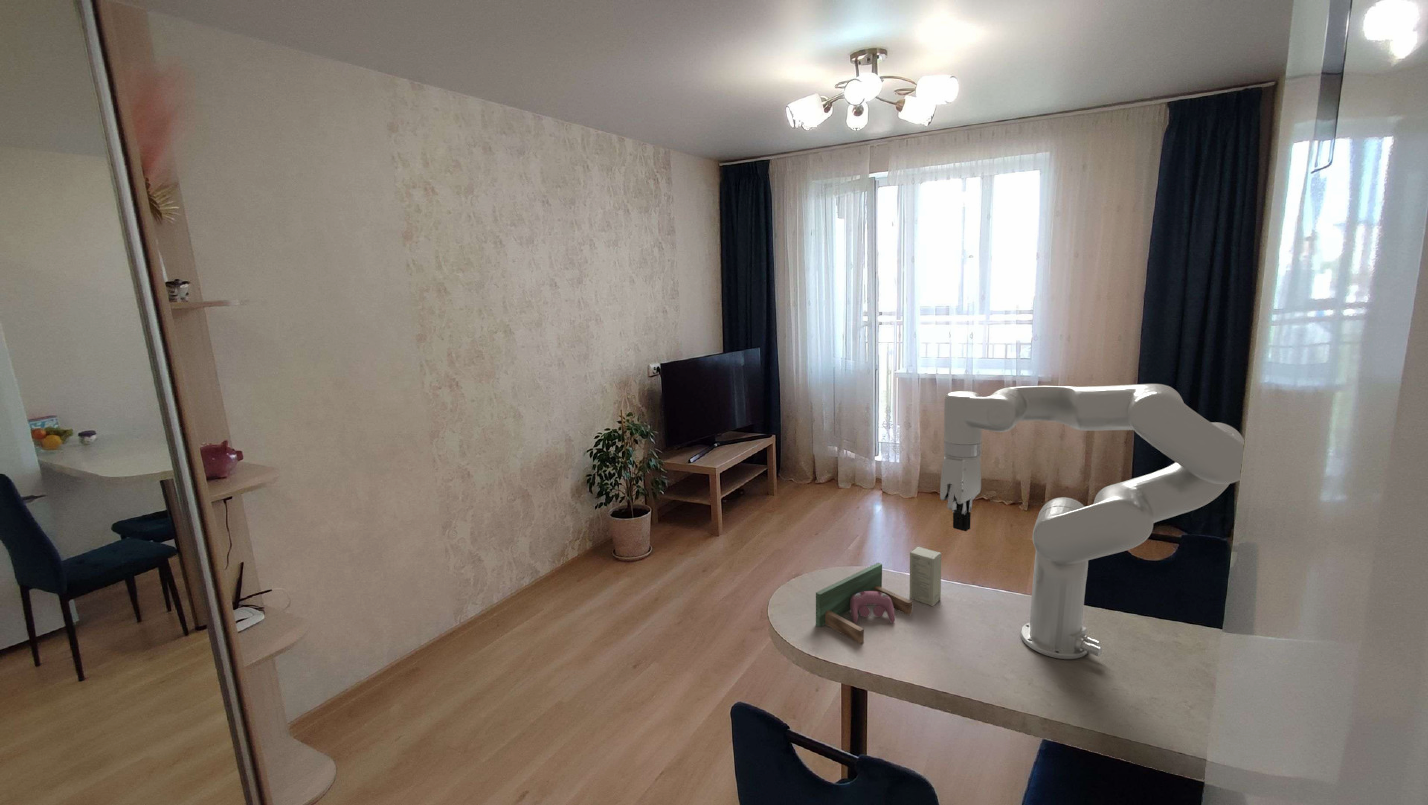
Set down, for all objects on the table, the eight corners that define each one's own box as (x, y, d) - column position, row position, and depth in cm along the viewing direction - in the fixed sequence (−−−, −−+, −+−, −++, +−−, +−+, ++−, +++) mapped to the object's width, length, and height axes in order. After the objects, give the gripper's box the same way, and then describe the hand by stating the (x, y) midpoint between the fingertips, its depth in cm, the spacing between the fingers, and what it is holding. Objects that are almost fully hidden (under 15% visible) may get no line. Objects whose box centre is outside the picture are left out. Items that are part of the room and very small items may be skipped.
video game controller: (892, 622, 145) (890, 590, 147) (896, 624, 140) (894, 591, 142) (849, 622, 146) (847, 590, 147) (852, 623, 141) (850, 591, 143)
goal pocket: (916, 610, 146) (917, 579, 145) (854, 646, 133) (855, 612, 132) (877, 592, 155) (878, 562, 153) (815, 624, 142) (815, 592, 140)
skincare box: (941, 599, 151) (943, 552, 148) (932, 607, 148) (934, 559, 145) (916, 591, 155) (918, 545, 153) (907, 597, 152) (909, 551, 150)
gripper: (962, 439, 143) (961, 515, 146) (928, 453, 133) (928, 535, 137) (995, 443, 137) (993, 522, 141) (962, 459, 128) (961, 544, 131)
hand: (961, 528), depth 139 cm, fingers closed
